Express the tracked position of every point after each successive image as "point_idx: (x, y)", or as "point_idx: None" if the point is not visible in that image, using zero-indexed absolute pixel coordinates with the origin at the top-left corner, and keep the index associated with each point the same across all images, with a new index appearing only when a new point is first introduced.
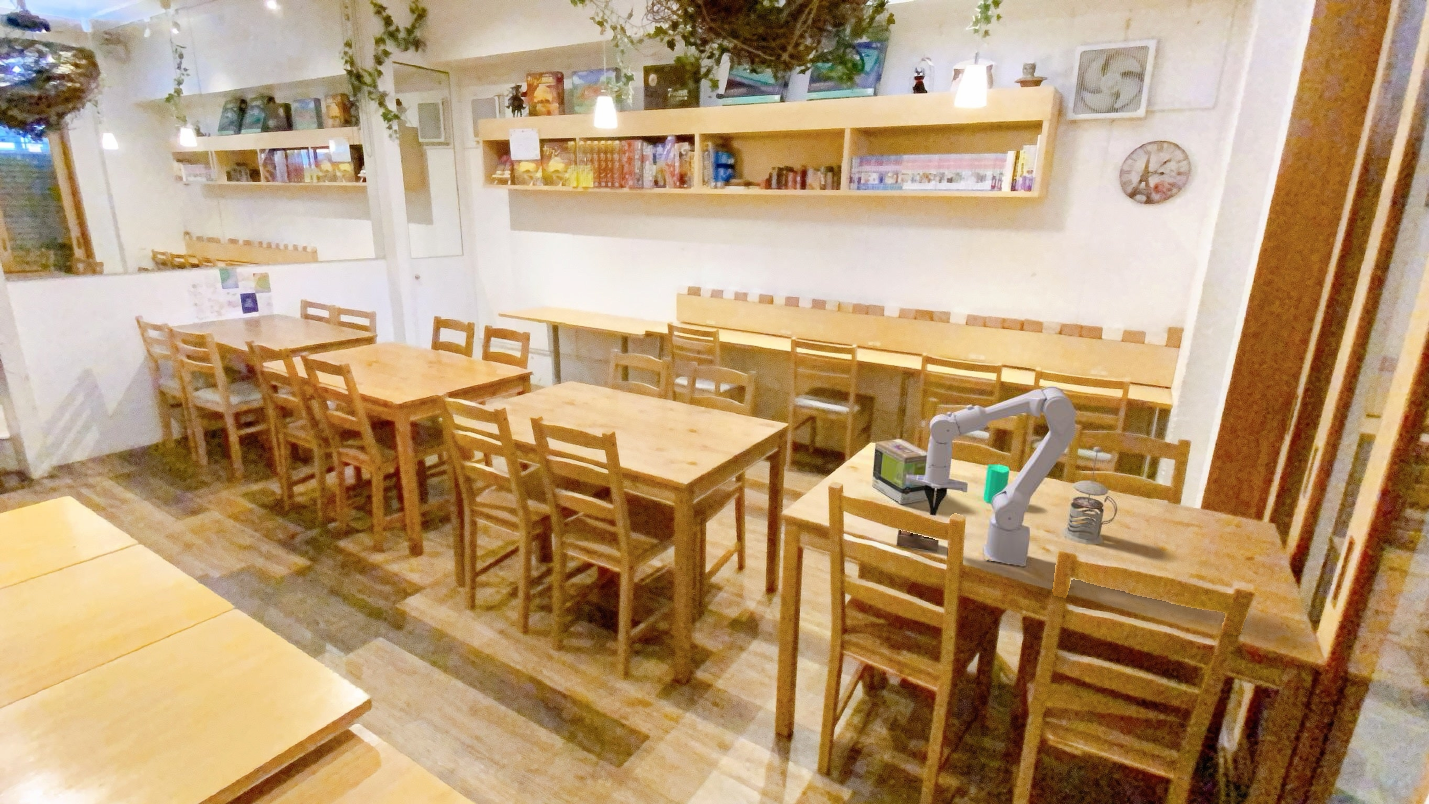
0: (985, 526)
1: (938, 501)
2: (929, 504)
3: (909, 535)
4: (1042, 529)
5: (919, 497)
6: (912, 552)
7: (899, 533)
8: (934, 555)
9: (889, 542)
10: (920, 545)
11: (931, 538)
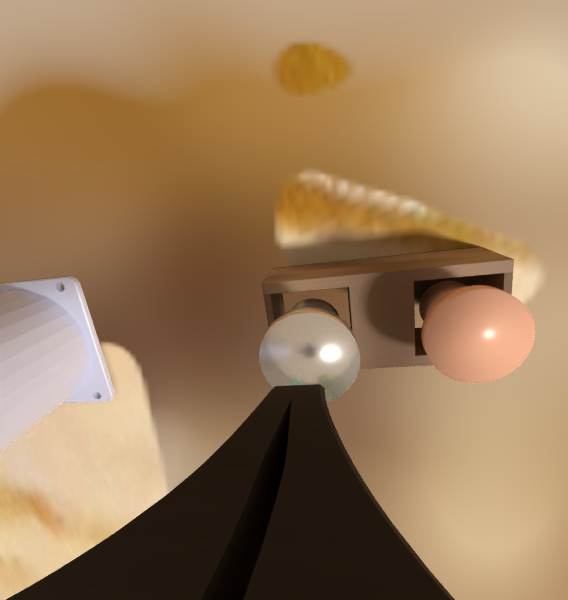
0: None
1: (192, 503)
2: (340, 451)
3: (432, 297)
4: (4, 562)
5: None
6: (389, 210)
7: None
8: (280, 229)
9: (522, 268)
10: (357, 264)
11: (304, 301)
